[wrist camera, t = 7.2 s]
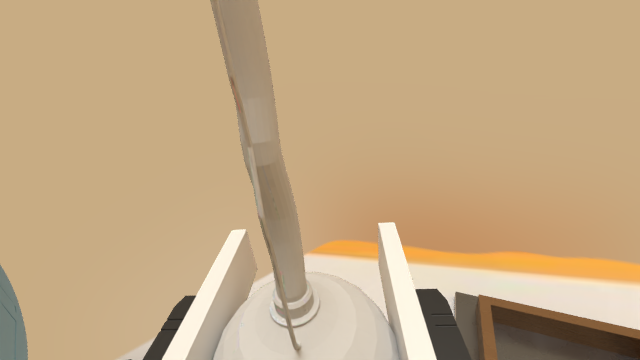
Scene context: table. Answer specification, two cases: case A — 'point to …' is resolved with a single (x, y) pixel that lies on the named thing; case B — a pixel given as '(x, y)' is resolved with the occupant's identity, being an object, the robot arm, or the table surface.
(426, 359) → the robot arm
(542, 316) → the fitting nest
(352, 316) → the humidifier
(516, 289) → the table surface
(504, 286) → the table surface
